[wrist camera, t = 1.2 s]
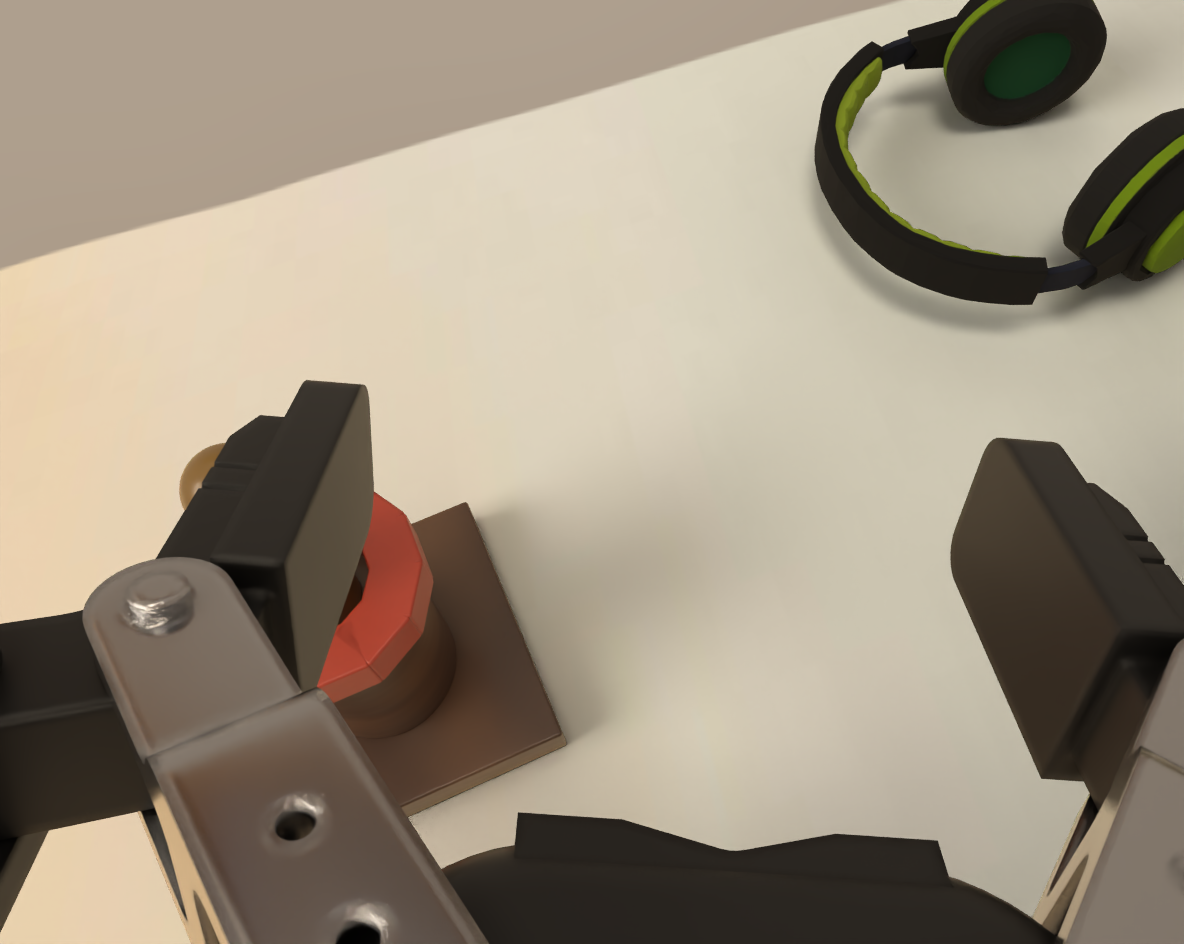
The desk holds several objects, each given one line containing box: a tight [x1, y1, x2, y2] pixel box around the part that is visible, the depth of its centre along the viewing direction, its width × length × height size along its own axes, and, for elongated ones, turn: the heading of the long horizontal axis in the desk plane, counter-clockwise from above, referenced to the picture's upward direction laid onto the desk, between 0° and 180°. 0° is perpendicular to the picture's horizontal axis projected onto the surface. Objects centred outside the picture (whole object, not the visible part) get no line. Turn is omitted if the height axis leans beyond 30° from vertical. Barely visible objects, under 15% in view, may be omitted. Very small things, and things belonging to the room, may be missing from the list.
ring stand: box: [179, 443, 566, 817], centre depth 27 cm, size 9×9×15 cm
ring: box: [317, 492, 434, 703], centre depth 26 cm, size 6×6×1 cm
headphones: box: [815, 0, 1184, 305], centre depth 37 cm, size 16×10×20 cm
